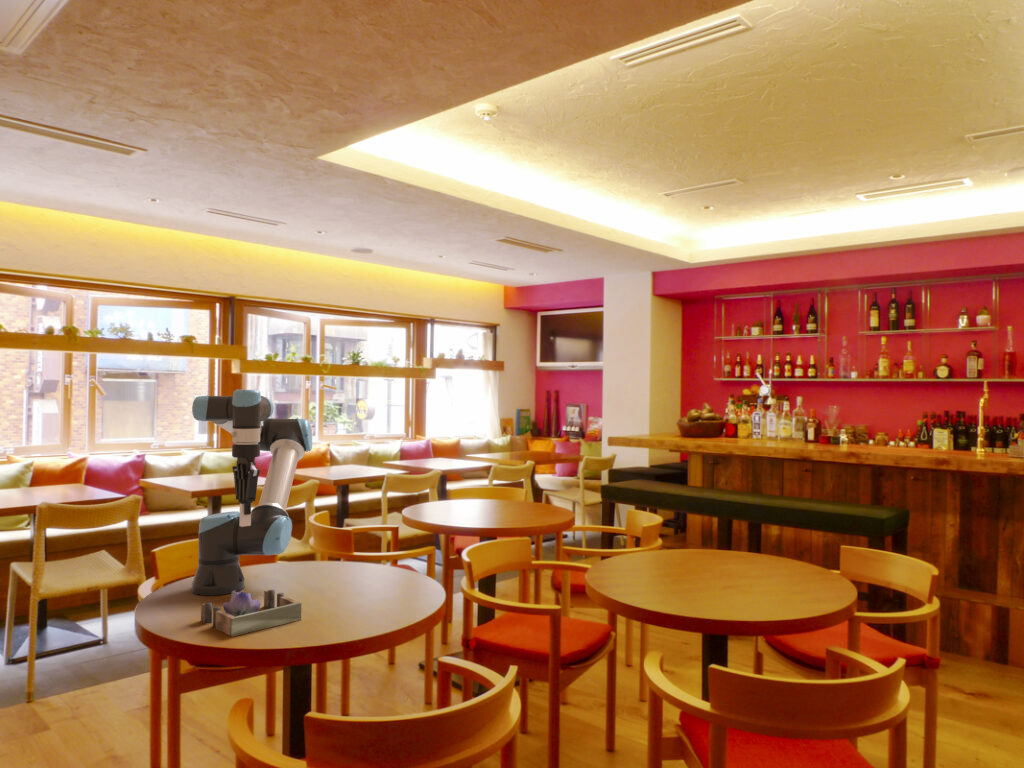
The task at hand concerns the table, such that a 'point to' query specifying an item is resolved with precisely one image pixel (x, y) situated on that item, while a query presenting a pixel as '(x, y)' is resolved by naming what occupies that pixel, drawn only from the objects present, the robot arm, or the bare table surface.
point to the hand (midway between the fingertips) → (245, 525)
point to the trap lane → (254, 615)
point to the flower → (241, 604)
